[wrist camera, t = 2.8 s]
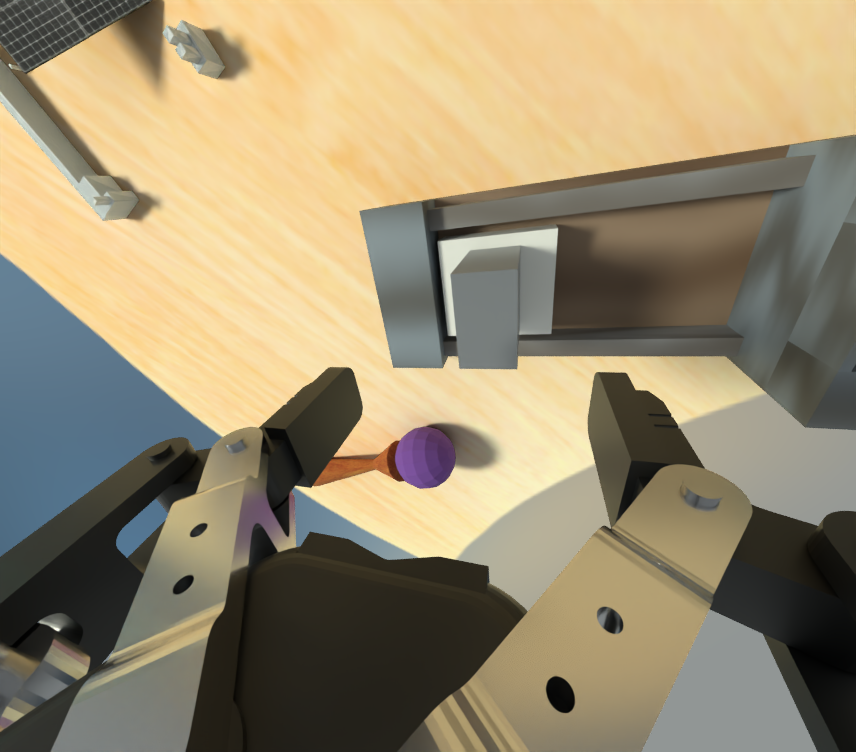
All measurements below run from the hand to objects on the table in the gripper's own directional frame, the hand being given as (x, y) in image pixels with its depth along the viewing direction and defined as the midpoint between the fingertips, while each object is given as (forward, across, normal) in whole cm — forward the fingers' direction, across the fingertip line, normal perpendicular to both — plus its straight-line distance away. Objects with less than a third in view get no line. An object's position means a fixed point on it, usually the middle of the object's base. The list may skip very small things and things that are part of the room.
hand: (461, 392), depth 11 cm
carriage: (+14, 0, 0) cm, 14 cm away
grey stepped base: (+16, -6, 0) cm, 17 cm away
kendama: (+16, +14, +19) cm, 29 cm away
